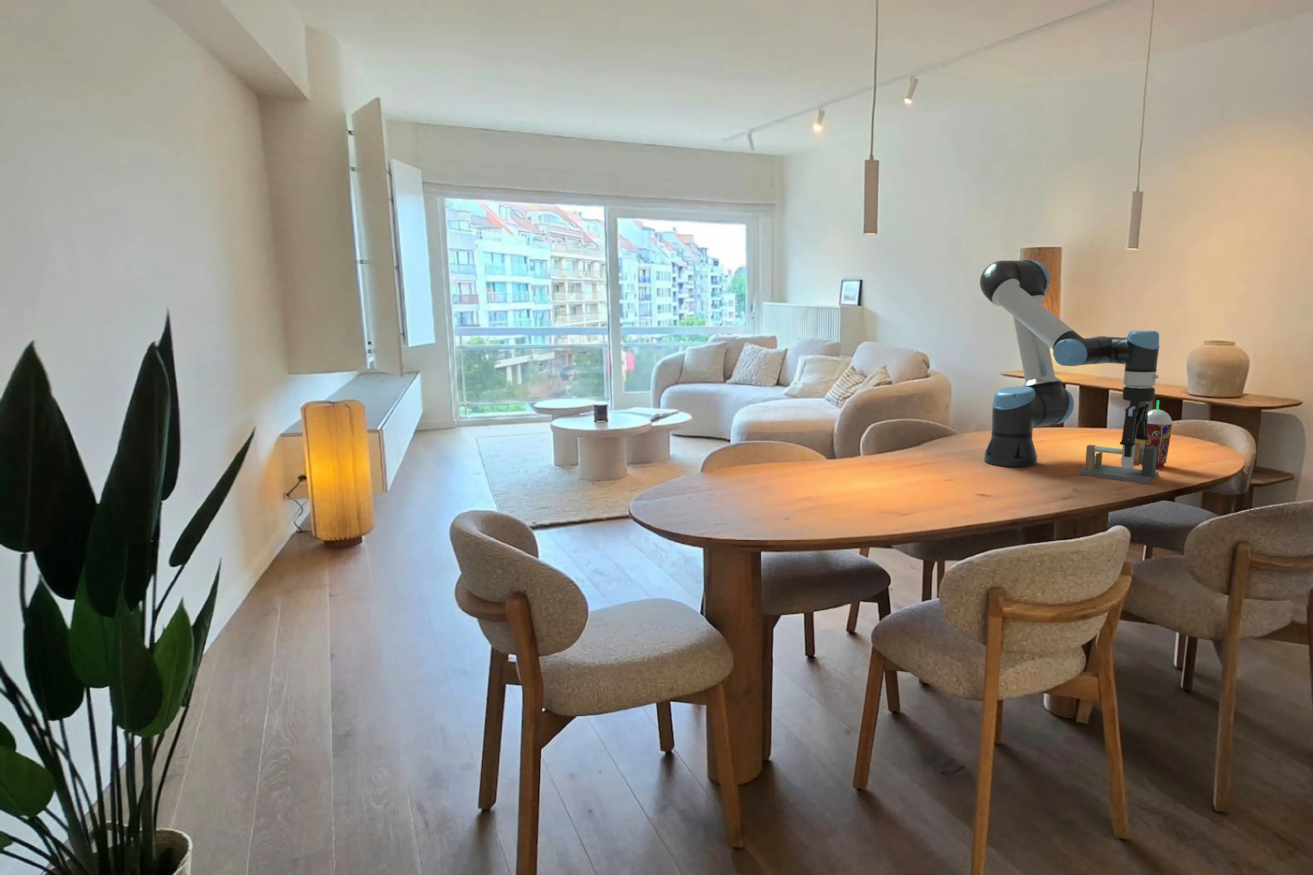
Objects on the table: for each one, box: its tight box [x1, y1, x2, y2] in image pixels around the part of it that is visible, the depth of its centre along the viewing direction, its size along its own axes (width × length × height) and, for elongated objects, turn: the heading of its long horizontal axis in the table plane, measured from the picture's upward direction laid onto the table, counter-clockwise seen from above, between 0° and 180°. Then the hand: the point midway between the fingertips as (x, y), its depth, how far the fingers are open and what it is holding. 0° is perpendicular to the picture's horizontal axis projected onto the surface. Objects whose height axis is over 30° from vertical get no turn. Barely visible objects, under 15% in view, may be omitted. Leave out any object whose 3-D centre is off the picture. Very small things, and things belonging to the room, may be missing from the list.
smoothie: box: [1140, 399, 1174, 469], centre depth 225 cm, size 8×8×20 cm
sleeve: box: [1120, 439, 1145, 467], centre depth 213 cm, size 4×6×6 cm, turn 134°
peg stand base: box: [1079, 444, 1160, 484], centre depth 216 cm, size 17×12×9 cm
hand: (1132, 464), depth 214 cm, fingers open, 9 cm apart
